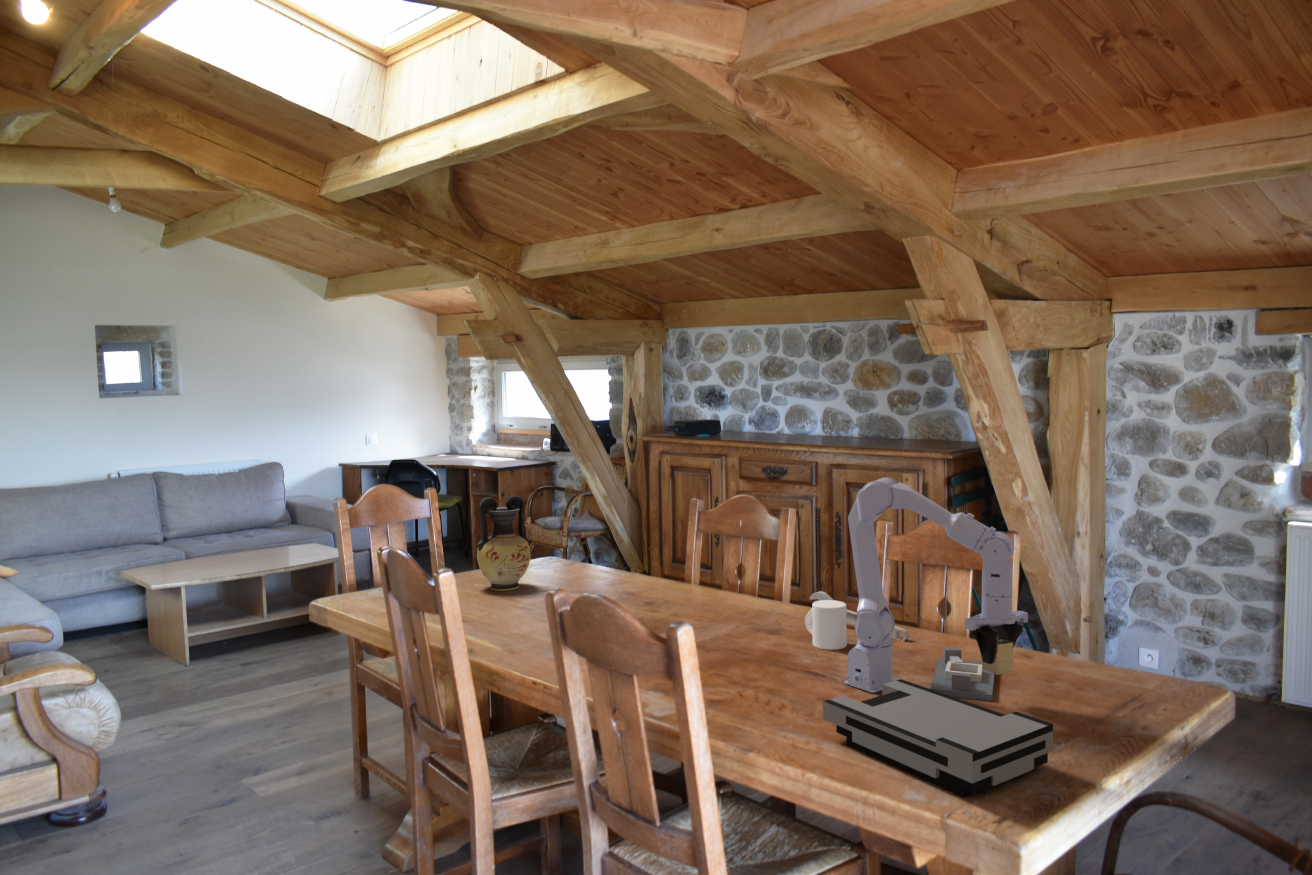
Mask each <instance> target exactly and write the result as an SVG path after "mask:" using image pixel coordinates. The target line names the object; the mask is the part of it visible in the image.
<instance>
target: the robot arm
mask: <svg viewBox="0 0 1312 875" xmlns="http://www.w3.org/2000/svg"><path fill="white" fill-rule="evenodd" d="M890 508H891V510H907V509H908V510H911V511H912V512H915V513H916V514H918V515H920V516H922V517H924V518H925V519H928V520H929V521H931V522H933V523H936V525H937V524H938V525H939V526H941V527H943V528H944V530H945V533H946V535H947V536H946V537H948V538H949V539H952V540H954V541H955V542H956V543H958V544H960V545H962V546H963V547H966V548H967V549H968V550H970V551H972V552H974V553H977V554H979V556H980V558H981V559H982V570H981V613H979V614H976V615H974V616H971V617H967V618H964V628H965V629H967V630H969V631H970V632H972V634H973V636H974V638H975V641H976V643H977V646H978V649H979V652H980V656H981V660H982V661H983V662H985V663H988V664H992V663H993V658H994V646H995V641H996V638H997V636H999V637H1003V638H1004V639H1005V640H1008V641H1011V642H1013V649H1014V648H1015V645H1016V643H1017V641H1018V639H1019V637H1020V635H1021V634H1022V633H1023V631H1024V630H1023V629H1024V626H1022V625H1021V624H1018V623H1028V622H1029V620H1028V619H1029V618H1028V616H1029V613H1028V612H1026V611H1023V610H1014V611H1013V587H1014V585H1013V584H1014V583H1013V579H1014V578H1013V576H1014V574H1013V561H1012V556H1013V554H1014V552H1015V543H1014V541H1013V539H1012V538H1011V537H1010V535H1008V534H1007V533H1006V532H1004V531H997V528H995V527H994V526H990V527H989V526H988V525H986V524H984V523H982V522H980V521H978V520H977V519H975V515H974V514H973V513H970V512H968V513H967V514H966V513H964V512H963V511H961V512H957V513H952V512H950V511H949V510H947V509H945V508H944V507H943V506H941V505H940V504H938V503H936V502H934V501H933V500H931V499H929V497H926V496H924V495H923V494H921V493H920V492H918V491H917V490H916V489H913V488H912V487H910V486H909V485H907V484H906V483H903V482H898V481H897V480H896V479H894V478H892V477H889V476H883V477H880V478H879V479H877V480H872V481H869V482H867V483H866V484H865V485H863V487H862V488H861V489H860V490H858V492H857V493H856V498H855V501H854V503H853V505H852V507H851V510H850V512H849V514H848V516H847V517H848V518H847V521H848V527H849V528H848V529H849V535H850V541H851V542H850V544H851V548H852V556H853V562H854V564H853V565H854V570H855V577H856V586H857V592H858V599H859V600H858V605H857V608H856V613H857V622H856V625H855V624H854V633H855V635H856V638H857V643H856V645H855V646H854V647H853V648H851V649H850V650H849V651H848V654H847V680H844V684H845V685H847V686H850V687H854V688H856V689H859V690H863V691H866V692H869V693H872V694H875V693H878V692H882V684H885V683H889V682H892V681H896V680H897V679H895V678H893V639H892V638H891V637H890V634H889V633H891V632H892V630H893V629H894V626H896V625H895V624H896V622H895V617H894V615H893V614H892V612H891V611H890V608H889V604H888V600H887V599H886V596H885V595H884V590H883V582H882V574H881V568H880V562H879V560H880V559H879V554H878V547H877V541H876V540H877V539H876V533H875V526H874V523H875V521H877V519H878V518H880V516H881V515H882V514H883V513H884V511H886V510H887V509H890ZM991 627H995V628H996V631H995V630H993V628H991ZM982 661H981V662H982Z"/></svg>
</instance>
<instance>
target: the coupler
mask: <svg viewBox="0 0 1312 875" xmlns="http://www.w3.org/2000/svg"><path fill="white" fill-rule="evenodd" d="M1013 656H1014V648H1013V642H1011V641H1008V640H1005V639H1004V638H1003V637H999V636H998V635H997V638H996V641H995V646H994V658H993V663H992V664H988V663H985V662H983V661H981V662H982V669H984V670H987V671H989V672H992V673H994V674H995V675H996V676H998V675H1004V674H1008V673H1010V674H1011V673H1013V670H1014V667H1013V666H1014V663H1013V662H1014V657H1013Z"/></svg>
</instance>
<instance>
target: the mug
mask: <svg viewBox="0 0 1312 875" xmlns="http://www.w3.org/2000/svg"><path fill="white" fill-rule="evenodd" d="M811 606H812V608H811V609H810V610H809V611H808V612H807V613H806V615H805V618H804V625H805V628H806V630H807V632H809V634H811V636H812V645H813V647H815V648H817V649H820V650H821V649H822V650H827V651H828V650H829V651H833V650H834V651H835V650H841V649H844V648H846V647H847V641H848V638H847V631H848V630H847V628H848V627H847V626H848V624H847V623H848V622H847V609H848V608H847V604H846V602H844V601H840V600H834V599H833V600H820V601H819V600H815V601H813V602H812V605H811Z"/></svg>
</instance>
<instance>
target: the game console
mask: <svg viewBox="0 0 1312 875" xmlns="http://www.w3.org/2000/svg"><path fill="white" fill-rule="evenodd" d="M895 680H896V681H892V682H889V683H885V684H882V690H881V692H882V694H881V695H878V696H876V697H872V698H868V699H865V700H862V701H859V700H856V699H854V698H851V697H849V696H846V695H839V696H836V697H833V698H828V699H826V700H823V701H822V720H824V721H827V722H829V723H831V724H833V725H836V727H835V728H836V732H835V733H837V734H839V735H841V736H844V737H846V746H848V747H849V748H852V749H854V750H857V751H859V752H862V753H863V754H865V755H867V756H870V757H872V758H874V759H876V760H878V761H881V762H883V763H886V764H888V765H890V766H892V767H894V768H896V769H898V770H900V771H902V772H905V773H908V774H910V775H912V776H914V777H916V778H919V779H921V780H922V781H923V780H924V781H925V782H927V783H929V784H931V785H933V786H936V787H938V788H941V789H943V790H945V791H946V792H950V793H952V794H954V795H956V796H958V797H960V798H962V799H964V798H966V797H969V796H972V795H973V794H976V793H978V792H981V791H983V790H986V789H988V788H989V787H991V786H993V787H994V786H997V785H1000V784H1001V783H1004V782H1007V781H1009V780H1012V779H1014V778H1016V777H1019V776H1022V775H1024V774H1026V773H1028V772H1031V771H1032V770H1034V769H1036V768H1038V767H1040V766H1042V765H1044V764H1047V763H1048V762H1049V761H1048V760H1049V758H1048V757H1049V753H1052V752H1053V751H1054V749H1053V748H1054V740H1053V739H1054V723H1052V722H1049V721H1045V720H1043V719H1039V718H1036V717H1034V716H1031V715H1028V714H1024V713H1022V712H1018V711H1013V712H1010V713H1008V714H1004V713H1002V712H998V711H995V710H993V709H989V708H987V707H984V706H981V705H979V704H975V703H973V702H969V701H966V700H963V699H961V698H959V697H952V696H949V695H946V694H943V693H940V692H937V691H934V690H931V689H930V688H928V687H926V686H923V685H920V684H916V683H913V682H910V681H908V680H905V679H901V678H899V679H895ZM1035 767H1036V768H1035Z"/></svg>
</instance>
